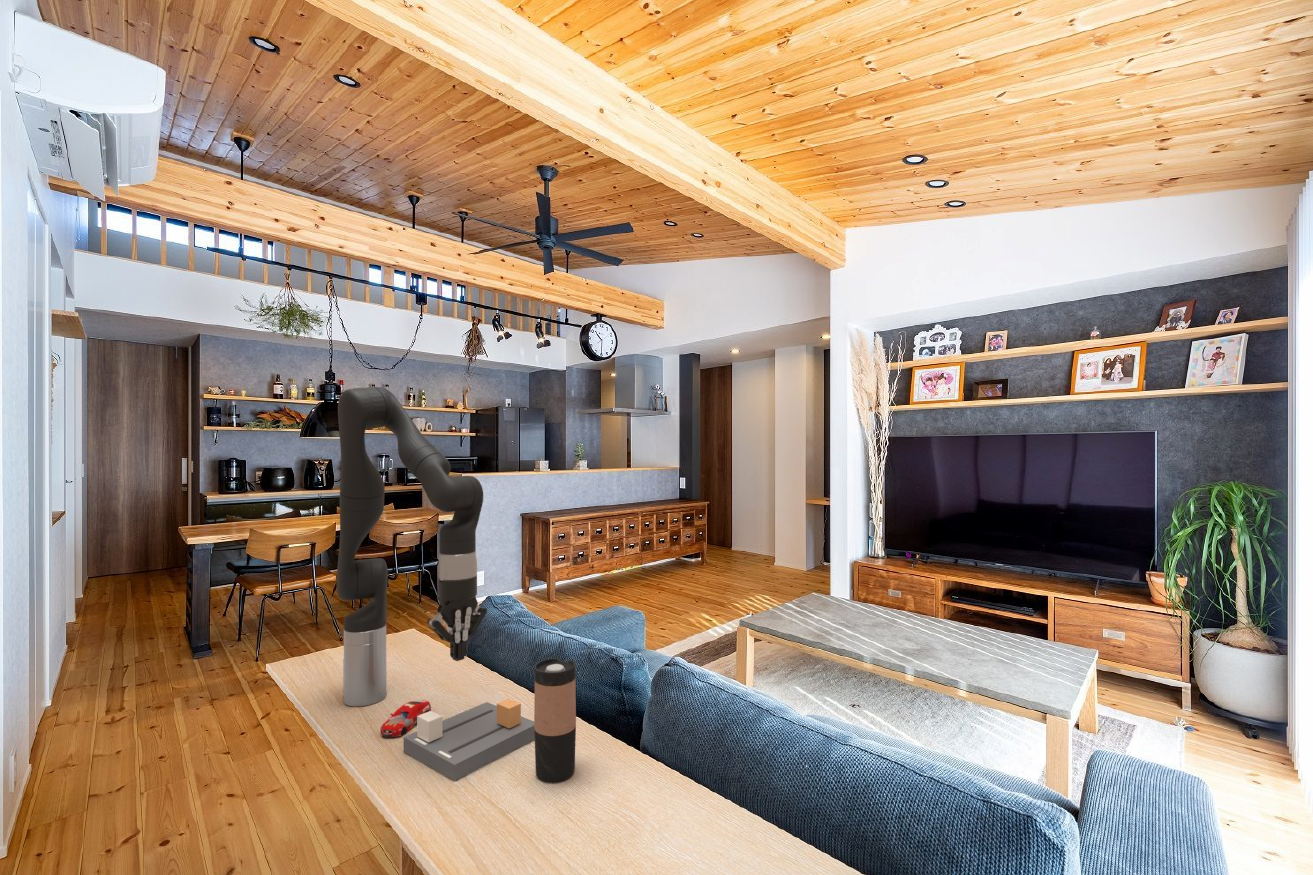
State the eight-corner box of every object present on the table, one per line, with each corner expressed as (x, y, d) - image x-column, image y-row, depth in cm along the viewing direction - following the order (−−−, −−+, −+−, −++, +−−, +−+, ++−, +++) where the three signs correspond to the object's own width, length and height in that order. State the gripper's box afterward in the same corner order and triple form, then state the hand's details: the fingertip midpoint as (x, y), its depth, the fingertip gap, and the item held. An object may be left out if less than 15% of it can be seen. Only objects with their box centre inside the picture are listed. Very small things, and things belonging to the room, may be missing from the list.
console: (403, 752, 120) (403, 736, 120) (486, 715, 136) (486, 701, 136) (454, 781, 110) (454, 764, 110) (538, 737, 126) (538, 722, 126)
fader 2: (496, 722, 125) (496, 703, 125) (508, 717, 127) (508, 698, 127) (509, 728, 123) (509, 708, 123) (520, 722, 125) (520, 703, 125)
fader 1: (417, 736, 119) (417, 716, 119) (430, 730, 122) (430, 710, 122) (428, 742, 117) (428, 721, 117) (442, 736, 119) (442, 716, 119)
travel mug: (541, 788, 107) (541, 675, 107) (529, 767, 114) (529, 661, 114) (581, 777, 111) (581, 668, 111) (568, 757, 118) (567, 655, 118)
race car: (397, 742, 125) (397, 723, 124) (374, 739, 126) (374, 720, 126) (435, 713, 137) (435, 696, 137) (415, 711, 139) (414, 693, 139)
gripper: (474, 566, 131) (475, 647, 130) (417, 577, 120) (418, 664, 120) (496, 571, 126) (496, 654, 126) (438, 582, 116) (439, 673, 115)
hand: (458, 659), depth 123 cm, fingers closed
